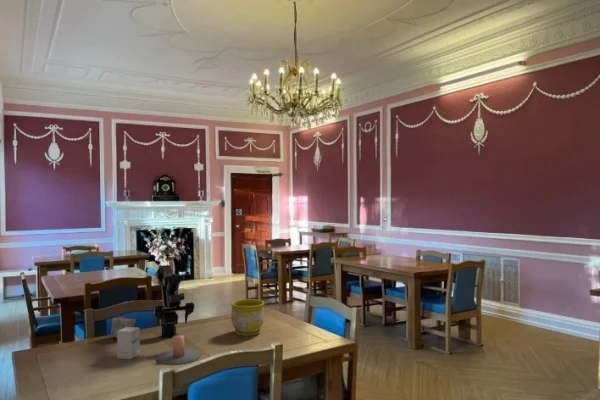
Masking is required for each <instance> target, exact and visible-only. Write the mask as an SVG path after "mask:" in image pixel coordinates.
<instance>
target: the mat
mask: <svg viewBox="0 0 600 400" xmlns="http://www.w3.org/2000/svg"><path fill="white" fill-rule="evenodd" d="M201 353H202V352H200V351H199V350H197V349H193V348H192V349H191V348H184V357H181V358H174V357H173V349H170V350H168V351H167V350H166V351H163V352H161V353H159V354H158V355H157V356H156V362H158V363H159V364H162V365H168V366H169V365H170V366H177V365H178V366H179V365H186V364H190V363H194V362H195V361H198V360H199V359H200V358H201V356H202V354H201Z"/></svg>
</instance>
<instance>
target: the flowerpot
mask: <svg viewBox="0 0 600 400" xmlns="http://www.w3.org/2000/svg"><path fill="white" fill-rule="evenodd" d="M230 305H231V324H232V326H233V328H234V332H235V333H236V334H237V336H243V337H250V336H251V337H252V336H256V335H258V334H260V332H261V331H262V329H261V328H262V327H263V324H264V322H265V310H264V309H265V306H264V305H265V301H264V300H261V299H257V298H255V299H254V298H253V299H252V298H246V299H238V300H237V299H236V300H234V301H232V302H230Z"/></svg>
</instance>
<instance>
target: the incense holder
mask: <svg viewBox="0 0 600 400" xmlns="http://www.w3.org/2000/svg"><path fill="white" fill-rule="evenodd" d="M111 320H112V322H111V330H110V337H111V338H116V339H117V331H119V330H121V329H123V328H125V327H135V324H136V321H137V320H136V319H135V318H126V317H124V316H122V317H121V316H120V317H114V318H112V319H111Z"/></svg>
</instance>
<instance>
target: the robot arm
mask: <svg viewBox="0 0 600 400" xmlns="http://www.w3.org/2000/svg"><path fill="white" fill-rule="evenodd" d="M155 277H156V280H157V283H158V285H160V286H161V296H162V304H161V305H160V304H159V305H155V306H154V310H153V315H154V317H156V318H158V319H159V325H160V327H161V335H160V336H159V337H160V338H167V339H168V338H172V339H173V337H174V336H176V335H178V334H177V327H176V325H177V324H179V315H178V313H177V312H179V311H184V324H185V325H186V324H187V323H188V317H189V315H191V314H192V313H194V310H195V303H194V302H185V303H184V304H185V305H181V303H182V302H181V301H184V300H185V293H184V292H181V293H179V291H178V290H179V289H180V284H181V279H180V277H179V276H178V275H177V274H176V273H173V268H172V266H171V265H169V264H166V265H163V264H162V265H161V266H160V268H158V269H157V270H156V274H155Z"/></svg>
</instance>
